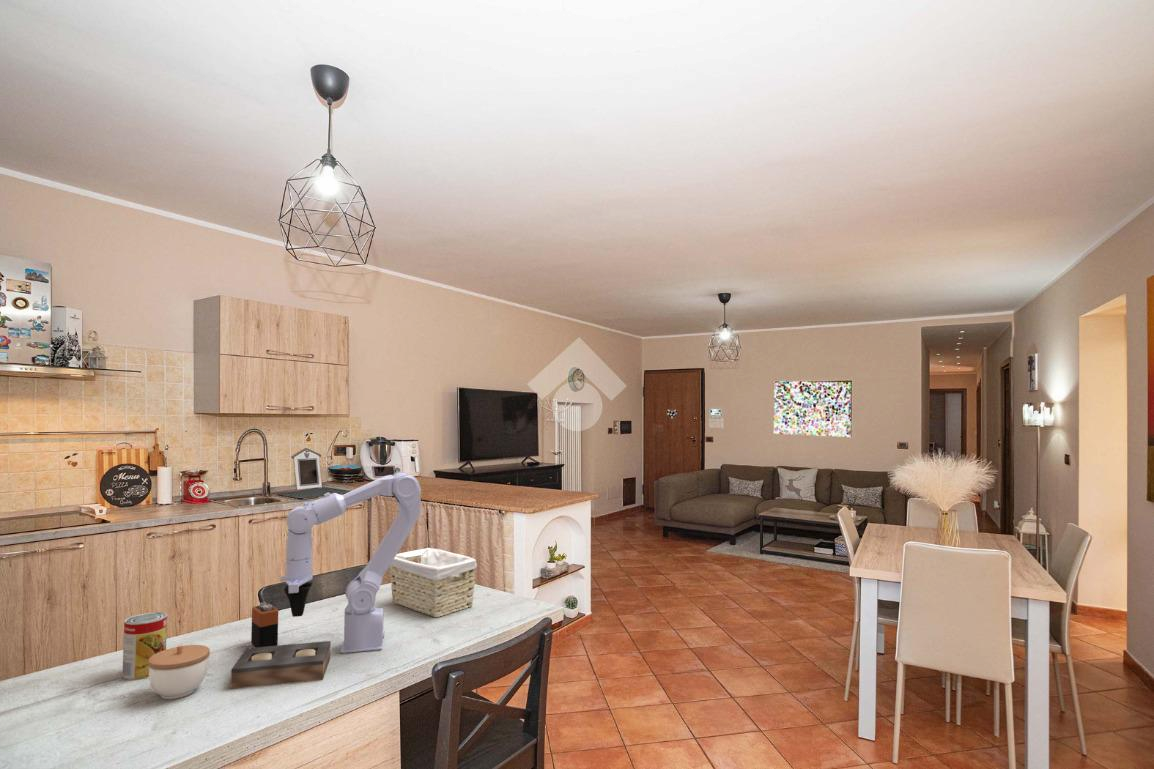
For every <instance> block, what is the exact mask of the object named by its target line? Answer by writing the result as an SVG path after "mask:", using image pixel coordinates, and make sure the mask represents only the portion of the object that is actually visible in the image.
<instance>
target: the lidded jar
mask: <svg viewBox="0 0 1154 769" xmlns="http://www.w3.org/2000/svg"><path fill="white" fill-rule="evenodd" d="M210 651H211V650H210V648H209V647H208V646H207V645H201V644H188V645H184V644H183V645H182V644H180V645H177V646H173V647H171V648H166V650H163V651H160V652H158V653H156V654H154V655H153V656H151V657H150V658H149V660H148V666H149V678H148V680H149V685H150V687H151V688H152V690H153V691H154V692H155V693H156V694H157V695H159V696H160V698H162V699H164V700H174V699H179V698H183V697H186V696H189V695H191V694H193V693H194V692H195V691H196V689H197V688H198V687H199V686H200V684H201V683H202V682H203V680H204V679H205V678H206V675H207V671H208V667H209V662H210V654H211V652H210Z"/></svg>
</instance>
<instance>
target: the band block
mask: <svg viewBox="0 0 1154 769" xmlns="http://www.w3.org/2000/svg"><path fill="white" fill-rule="evenodd" d="M331 643H332V642H331V640H326V641H315V642H304V643H301V642H300V643H292V644H291V643H290V644H282V645H281V644H280V645H277V646H266V647H255V646H254V647H246V648H245V650H244V651H243V652H242V654H240V656H239V658H238V660H236V661H235V663H234V665H233V666H232V668H230V690H231V689H233V690H234V689H240V688H241V689H242V688H251V687H252V688H253V687H262V686H272V685H281V684H282V683H283V684H291V683H300V682H312V681H321V680H324V678H325V675H326V672H327V669H328V665H329V663H330V660H331V645H332V644H331ZM304 649H314V650H315V655H313V656H302V657H296V653H297V652H298V651H300V650H304ZM260 653H271V654H272V659H270V660H259V661H251V658H252V656H254V655H256V654H260Z"/></svg>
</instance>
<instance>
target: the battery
mask: <svg viewBox="0 0 1154 769" xmlns="http://www.w3.org/2000/svg"><path fill="white" fill-rule="evenodd" d="M250 632H251V633H250V634H251V636H250V637H251V638H250V639H251V640H250V641H251V644H252V646H254V648H255V647H266V646H278V642H279V640H278V639H279V609H277V608H276V607H274V605H272V604H270V603H267V602H260V603H259V605H257V606H252V608H251V631H250Z"/></svg>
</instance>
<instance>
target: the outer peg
mask: <svg viewBox="0 0 1154 769" xmlns="http://www.w3.org/2000/svg"><path fill="white" fill-rule="evenodd" d="M270 659H272V654H271V653H260V654H256V655H254V656H252V658H251V661H259V660H270Z"/></svg>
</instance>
